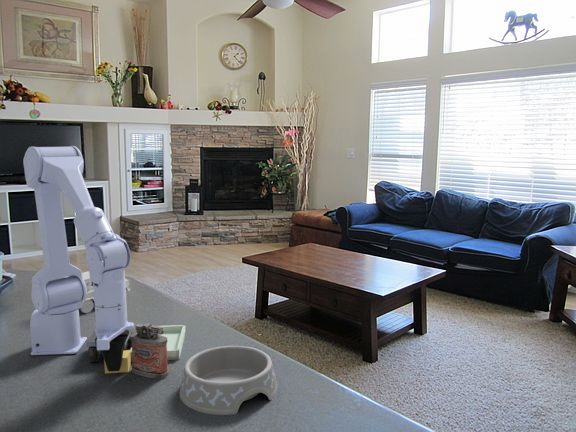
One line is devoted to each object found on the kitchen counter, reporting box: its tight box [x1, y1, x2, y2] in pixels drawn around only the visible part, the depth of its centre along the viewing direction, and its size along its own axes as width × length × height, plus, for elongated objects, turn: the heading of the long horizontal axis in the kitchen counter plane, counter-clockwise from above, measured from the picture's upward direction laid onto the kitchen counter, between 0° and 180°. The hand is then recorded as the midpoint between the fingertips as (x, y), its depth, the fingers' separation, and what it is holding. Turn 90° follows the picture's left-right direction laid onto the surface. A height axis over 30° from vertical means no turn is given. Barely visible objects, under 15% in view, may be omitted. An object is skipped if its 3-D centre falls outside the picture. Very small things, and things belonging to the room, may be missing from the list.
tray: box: [129, 324, 187, 362], centre depth 111 cm, size 10×14×2 cm
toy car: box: [63, 270, 131, 314], centre depth 138 cm, size 10×20×10 cm, turn 150°
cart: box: [86, 323, 136, 363], centre depth 107 cm, size 8×11×7 cm
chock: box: [103, 349, 132, 375], centre depth 100 cm, size 4×4×3 cm
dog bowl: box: [179, 345, 279, 416], centre depth 93 cm, size 17×18×5 cm
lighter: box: [130, 322, 170, 380], centre depth 98 cm, size 8×3×10 cm, turn 68°
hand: (114, 369), depth 97 cm, fingers closed
